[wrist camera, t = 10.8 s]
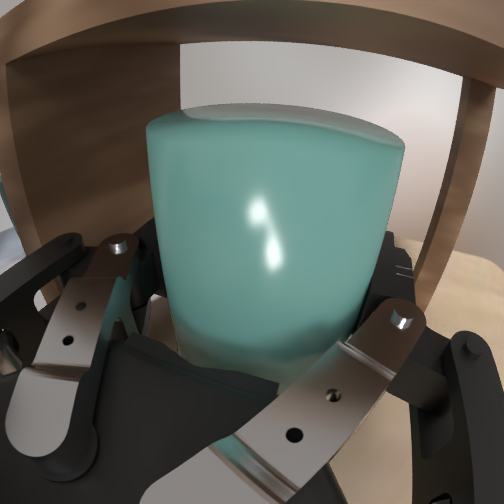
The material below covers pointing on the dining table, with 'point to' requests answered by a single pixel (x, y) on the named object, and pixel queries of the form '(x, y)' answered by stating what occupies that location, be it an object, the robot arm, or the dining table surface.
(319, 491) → the robot arm
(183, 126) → the teal glossy cylinder
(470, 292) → the dining table surface
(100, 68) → the brown wooden shelf stand
